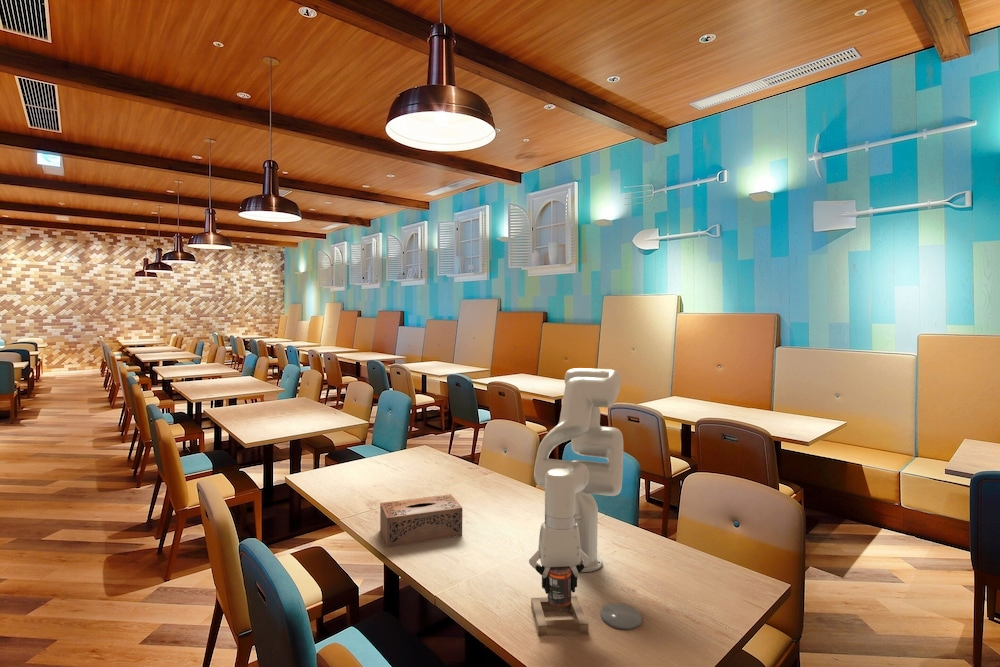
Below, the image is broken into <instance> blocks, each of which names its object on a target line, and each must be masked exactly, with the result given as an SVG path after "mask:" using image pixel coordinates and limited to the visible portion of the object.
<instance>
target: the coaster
mask: <svg viewBox="0 0 1000 667" xmlns="http://www.w3.org/2000/svg"><path fill="white" fill-rule="evenodd" d="M600 617H601V620H602V621H603V622H604V623H605V624H606V625H608V626H610V627H612V628H614V629H618V630H633V629H637V628H638V627H639V626H641V624H642V614H641V613H640V611H639V610H638V609H636V608H635V607H633V606H631V605H628V604H624V603H620V602H615V603H614V602H612V603H609V604H605V605H604V606H603V607H602V608H601V609H600Z"/></svg>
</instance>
